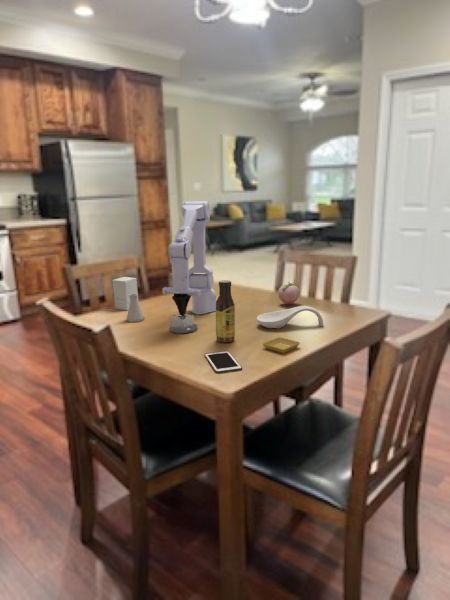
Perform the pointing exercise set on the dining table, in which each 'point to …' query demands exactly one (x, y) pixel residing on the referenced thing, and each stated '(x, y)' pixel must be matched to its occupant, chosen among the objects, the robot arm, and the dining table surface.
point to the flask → (134, 310)
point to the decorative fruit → (288, 293)
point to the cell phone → (223, 362)
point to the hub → (183, 330)
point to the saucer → (278, 347)
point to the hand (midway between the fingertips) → (182, 314)
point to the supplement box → (124, 291)
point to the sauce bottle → (225, 313)
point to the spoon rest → (284, 316)
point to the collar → (182, 321)
